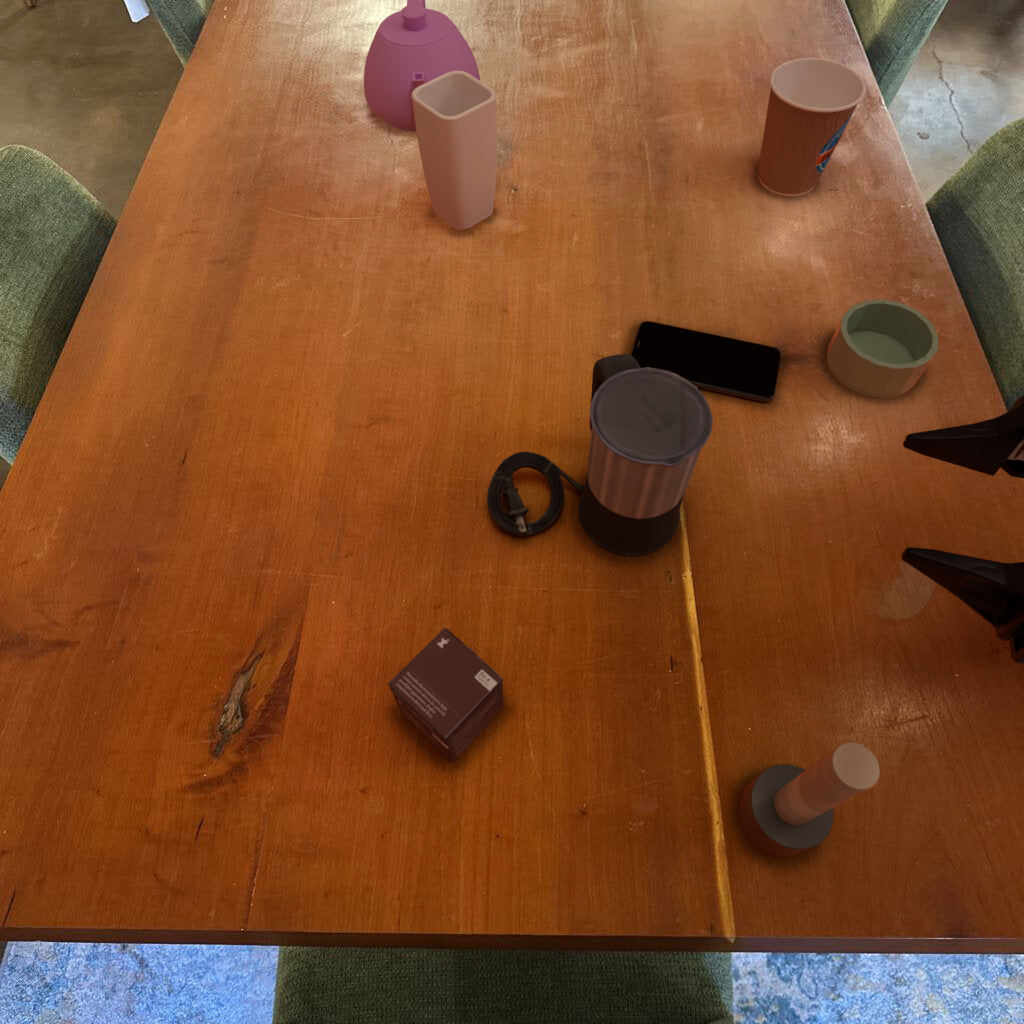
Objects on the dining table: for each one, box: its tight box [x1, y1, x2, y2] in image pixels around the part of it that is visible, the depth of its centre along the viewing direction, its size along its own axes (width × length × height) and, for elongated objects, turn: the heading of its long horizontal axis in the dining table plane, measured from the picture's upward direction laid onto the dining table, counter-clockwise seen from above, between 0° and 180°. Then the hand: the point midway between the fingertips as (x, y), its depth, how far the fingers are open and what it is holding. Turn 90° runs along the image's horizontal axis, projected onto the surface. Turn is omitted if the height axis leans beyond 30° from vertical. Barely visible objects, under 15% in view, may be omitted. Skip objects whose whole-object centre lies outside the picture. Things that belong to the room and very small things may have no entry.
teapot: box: [363, 0, 481, 133], centre depth 99 cm, size 22×16×12 cm
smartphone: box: [629, 320, 782, 403], centre depth 79 cm, size 7×1×15 cm
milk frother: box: [486, 353, 714, 557], centre depth 64 cm, size 14×16×15 cm
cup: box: [412, 71, 498, 231], centre depth 86 cm, size 7×7×15 cm
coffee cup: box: [757, 57, 866, 197], centre depth 89 cm, size 10×10×12 cm
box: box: [387, 627, 504, 763], centre depth 58 cm, size 6×6×7 cm
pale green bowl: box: [826, 298, 940, 399], centre depth 77 cm, size 9×9×4 cm
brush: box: [737, 741, 881, 858], centre depth 49 cm, size 6×6×16 cm
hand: (904, 494), depth 51 cm, fingers open, 9 cm apart
